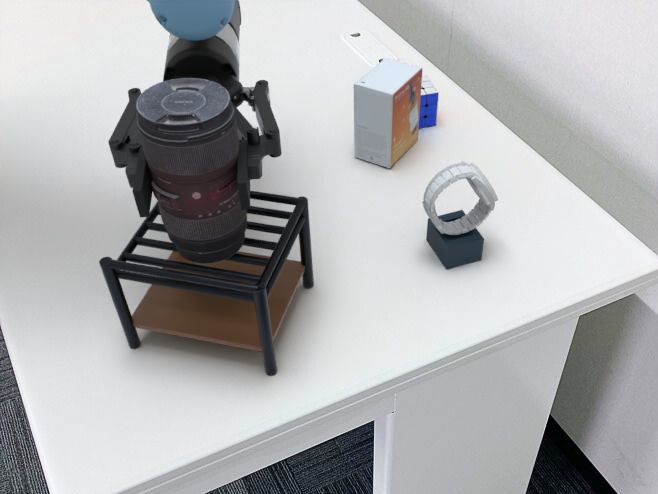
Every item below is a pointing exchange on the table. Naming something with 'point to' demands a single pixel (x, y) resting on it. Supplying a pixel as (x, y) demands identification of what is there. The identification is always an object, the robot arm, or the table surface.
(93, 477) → the table surface
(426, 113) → the rubik's cube
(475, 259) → the watch
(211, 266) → the slatted rack
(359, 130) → the small box
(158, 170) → the camera lens
